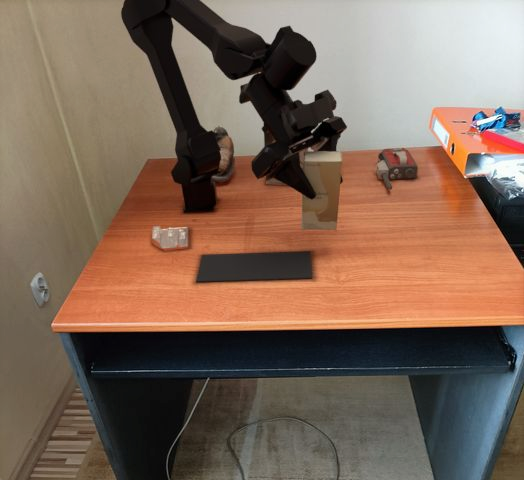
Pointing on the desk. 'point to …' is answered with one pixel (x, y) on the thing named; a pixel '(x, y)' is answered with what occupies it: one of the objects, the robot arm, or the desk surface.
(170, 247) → the stamped metal plate
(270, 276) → the mat
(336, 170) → the cosmetic box
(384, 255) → the desk surface
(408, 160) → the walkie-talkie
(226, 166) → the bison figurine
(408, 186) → the desk surface
